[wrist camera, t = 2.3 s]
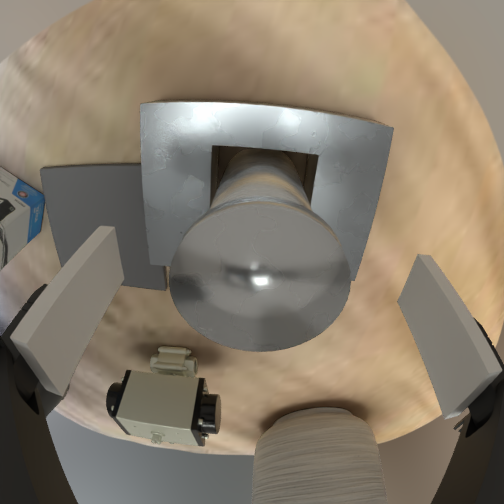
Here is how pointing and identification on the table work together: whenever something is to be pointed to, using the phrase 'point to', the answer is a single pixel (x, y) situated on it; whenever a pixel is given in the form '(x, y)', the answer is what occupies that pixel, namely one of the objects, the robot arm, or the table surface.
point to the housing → (267, 137)
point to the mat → (102, 215)
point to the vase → (318, 460)
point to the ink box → (17, 215)
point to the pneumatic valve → (166, 401)
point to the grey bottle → (260, 260)
